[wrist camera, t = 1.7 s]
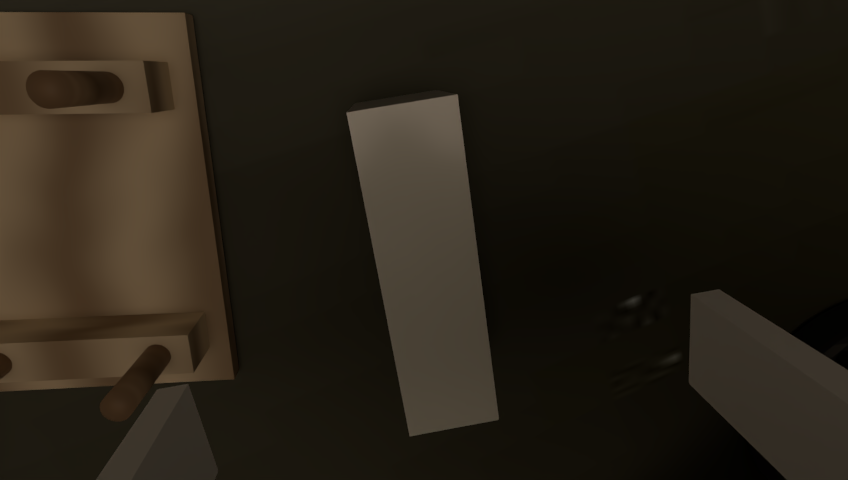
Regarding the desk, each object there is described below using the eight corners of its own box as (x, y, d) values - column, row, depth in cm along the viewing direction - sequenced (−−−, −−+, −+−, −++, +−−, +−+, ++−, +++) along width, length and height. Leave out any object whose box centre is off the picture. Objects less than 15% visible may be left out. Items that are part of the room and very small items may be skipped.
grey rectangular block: (436, 89, 25) (457, 94, 18) (471, 342, 29) (498, 419, 23) (354, 102, 25) (346, 112, 18) (402, 354, 29) (409, 436, 23)
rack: (192, 15, 23) (109, -13, 16) (239, 369, 28) (192, 466, 21) (-97, 14, 22) (-326, -16, 15) (8, 380, 27) (-122, 487, 20)
